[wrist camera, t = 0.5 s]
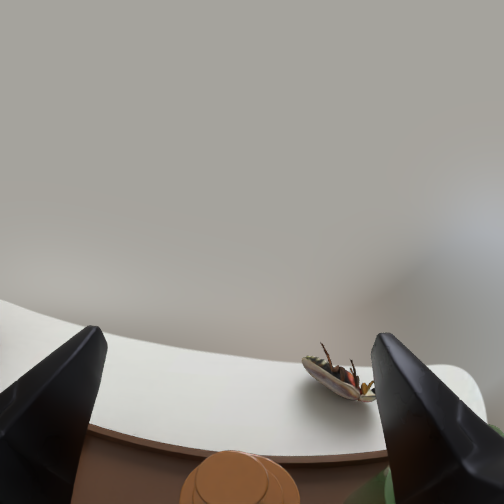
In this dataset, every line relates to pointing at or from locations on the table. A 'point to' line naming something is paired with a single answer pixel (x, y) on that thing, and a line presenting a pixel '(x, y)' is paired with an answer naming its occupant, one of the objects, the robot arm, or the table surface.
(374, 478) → the olive bottle
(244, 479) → the amber bottle
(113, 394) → the table surface
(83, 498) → the tray
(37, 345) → the table surface
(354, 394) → the insect
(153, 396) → the table surface
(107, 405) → the table surface
